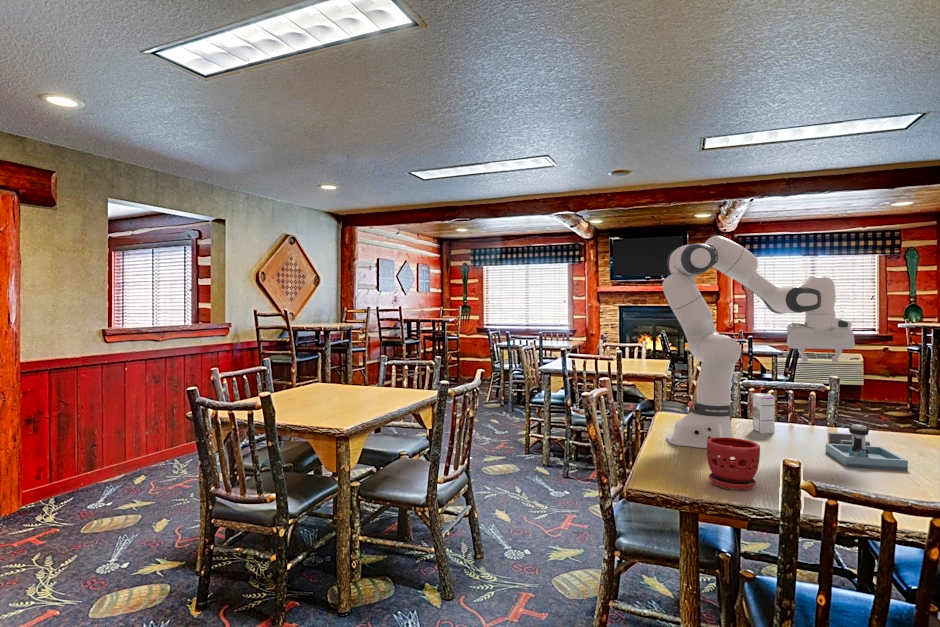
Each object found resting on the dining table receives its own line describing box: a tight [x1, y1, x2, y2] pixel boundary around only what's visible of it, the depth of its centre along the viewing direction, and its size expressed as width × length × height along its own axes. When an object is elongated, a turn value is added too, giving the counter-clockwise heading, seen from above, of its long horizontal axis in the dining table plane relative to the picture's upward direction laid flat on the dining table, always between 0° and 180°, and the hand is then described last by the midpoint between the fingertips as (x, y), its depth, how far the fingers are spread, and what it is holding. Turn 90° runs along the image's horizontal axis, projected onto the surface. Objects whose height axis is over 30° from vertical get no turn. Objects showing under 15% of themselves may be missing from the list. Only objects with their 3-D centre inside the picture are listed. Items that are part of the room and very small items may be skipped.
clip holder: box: [827, 432, 871, 446], centre depth 185 cm, size 8×12×4 cm, turn 165°
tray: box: [825, 443, 909, 471], centre depth 169 cm, size 16×16×3 cm
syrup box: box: [752, 392, 775, 434], centre depth 208 cm, size 6×6×14 cm
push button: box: [848, 423, 873, 457], centre depth 170 cm, size 7×5×10 cm
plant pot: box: [706, 437, 761, 491], centre depth 148 cm, size 13×13×12 cm
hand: (819, 361), depth 190 cm, fingers open, 8 cm apart
